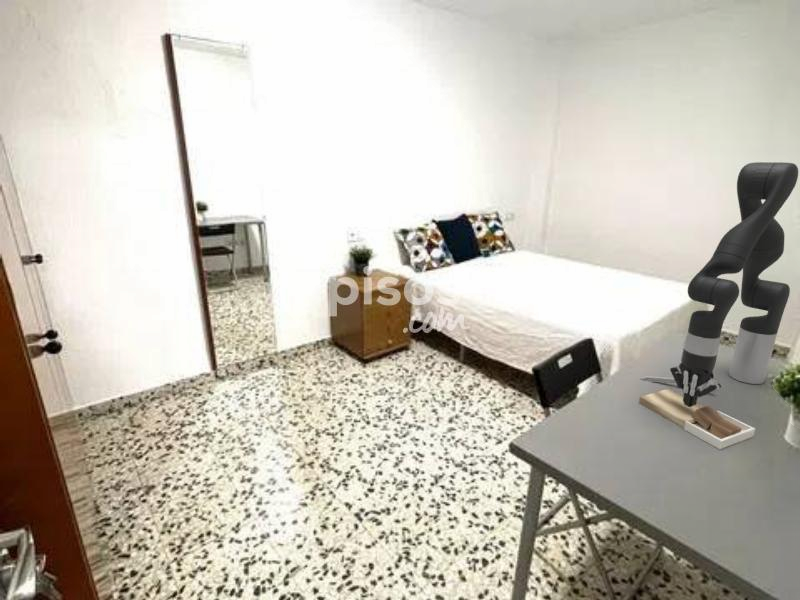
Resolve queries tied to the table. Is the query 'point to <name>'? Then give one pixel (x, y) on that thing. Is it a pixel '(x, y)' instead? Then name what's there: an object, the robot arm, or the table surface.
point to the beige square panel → (670, 406)
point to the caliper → (669, 381)
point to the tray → (716, 441)
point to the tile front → (724, 428)
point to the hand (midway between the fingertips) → (688, 405)
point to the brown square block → (706, 416)
